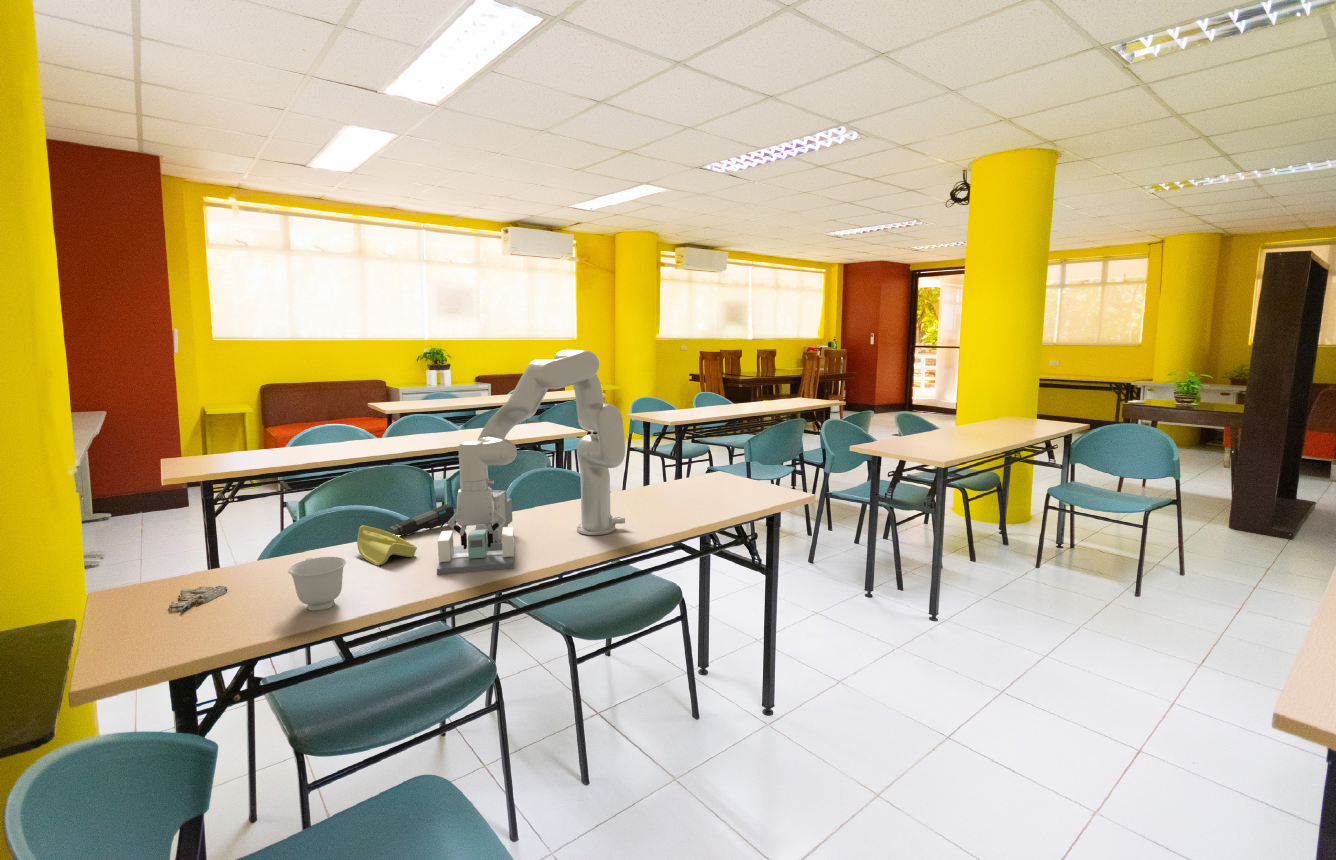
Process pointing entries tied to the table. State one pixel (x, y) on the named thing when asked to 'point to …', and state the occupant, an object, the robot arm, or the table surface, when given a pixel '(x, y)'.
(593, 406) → the robot arm
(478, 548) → the block
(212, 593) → the circuit board
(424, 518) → the gun
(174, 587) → the table surface
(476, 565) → the rail board
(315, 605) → the teacup
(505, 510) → the circuit breaker
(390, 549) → the plastic component
